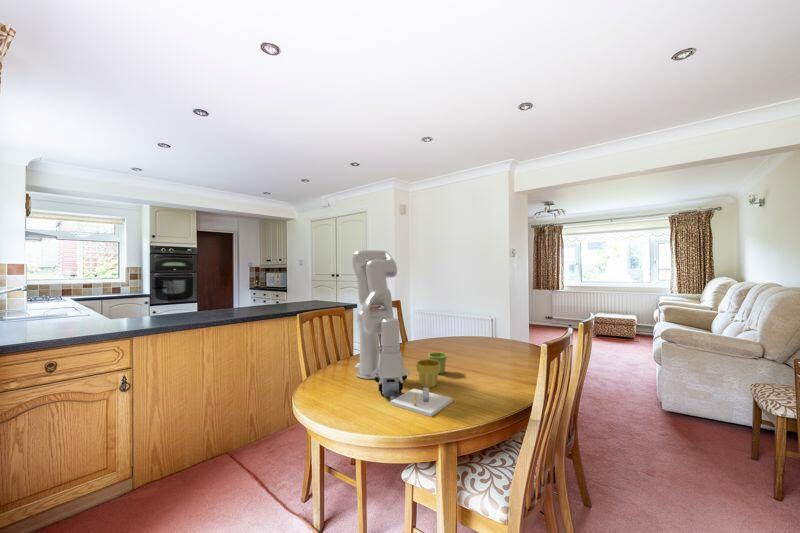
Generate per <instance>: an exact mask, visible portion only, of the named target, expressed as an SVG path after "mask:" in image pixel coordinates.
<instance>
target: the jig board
mask: <svg viewBox="0 0 800 533" xmlns="http://www.w3.org/2000/svg"><path fill="white" fill-rule="evenodd" d="M414 393H416V394H417V406H414ZM453 399H454V398H453V397H449V396H445V395H441V394H437V393H434V392H430V391H429V402H424V401H423V389H417V388H412V389H410V390H408V391H406V392H405V393H403V394H402V393H401V395H399V396H398V397H395V399H393V400H391V401H389V403H390V406H391V405H392V406H395V407H398V408H401V409H404V410H408V411H411V412H414V413H416V414H420V415H424V416H427V417H430V418H432V417H433V416H434V415H436V414H437V413H439V412H440V411H441V410H443V409H444V408H445V407H447V406H448V405H450V404H451V403H452V402H453V401H454V400H453Z"/></svg>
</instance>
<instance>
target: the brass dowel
mask: <svg viewBox="0 0 800 533" xmlns="http://www.w3.org/2000/svg"><path fill="white" fill-rule="evenodd" d="M414 406H417V394H416V393H414Z"/></svg>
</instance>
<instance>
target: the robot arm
mask: <svg viewBox="0 0 800 533" xmlns="http://www.w3.org/2000/svg"><path fill="white" fill-rule="evenodd" d="M351 261H352V262H351V263H352V268H353V271H354V273H355V276H356V280H357V289H358V290H357V292H358V302H359V304H360V305H361V306H362V308H361V311H359V312H358V314H357V325H358V332H359V334H358V335H359V362H357V363H356V364H355V365H354V368H355V369H357V372H356V377H358V378H360V379H364V380H368V379H369V380H373V379H374V381H375V382H376V383H377V384H378V392H380V395H383V379H390V378H397V379H398V382H399V394H402V391H403V390H404V384H403V383H404V382H405V381H406V380H407V379H408V377H409V376H410V374H411V372H410V370H409V369H407V368H406V367H405V366H404V358H403V353H402V351H401V350H400V321H399V319H397V318H395V317H394V311H393V299H392V293H391V290H390V288H389V287H388V283H387V279H388V278H394V277H396V276H397V275H398V274H397V273H398V267H397V263H396V261H395V259H394V258H393V257H392V255H391V254H390V253H389V252H388V251H386V250H379V249H377V250H374V249H373V250H371V249H370V250H369V249H367V250H366V249H363V250H362V249H361V250H358V251H355V252H354V253H353V255H352V260H351ZM378 306H380V308H371V307H378ZM379 335H380V337H379Z"/></svg>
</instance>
